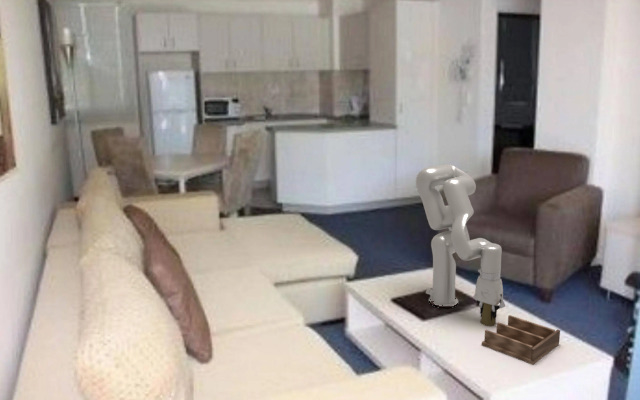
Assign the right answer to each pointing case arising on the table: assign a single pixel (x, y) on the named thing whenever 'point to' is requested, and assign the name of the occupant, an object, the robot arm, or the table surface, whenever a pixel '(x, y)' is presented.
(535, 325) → the slot rack
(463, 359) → the table surface
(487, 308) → the cork
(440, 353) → the table surface
